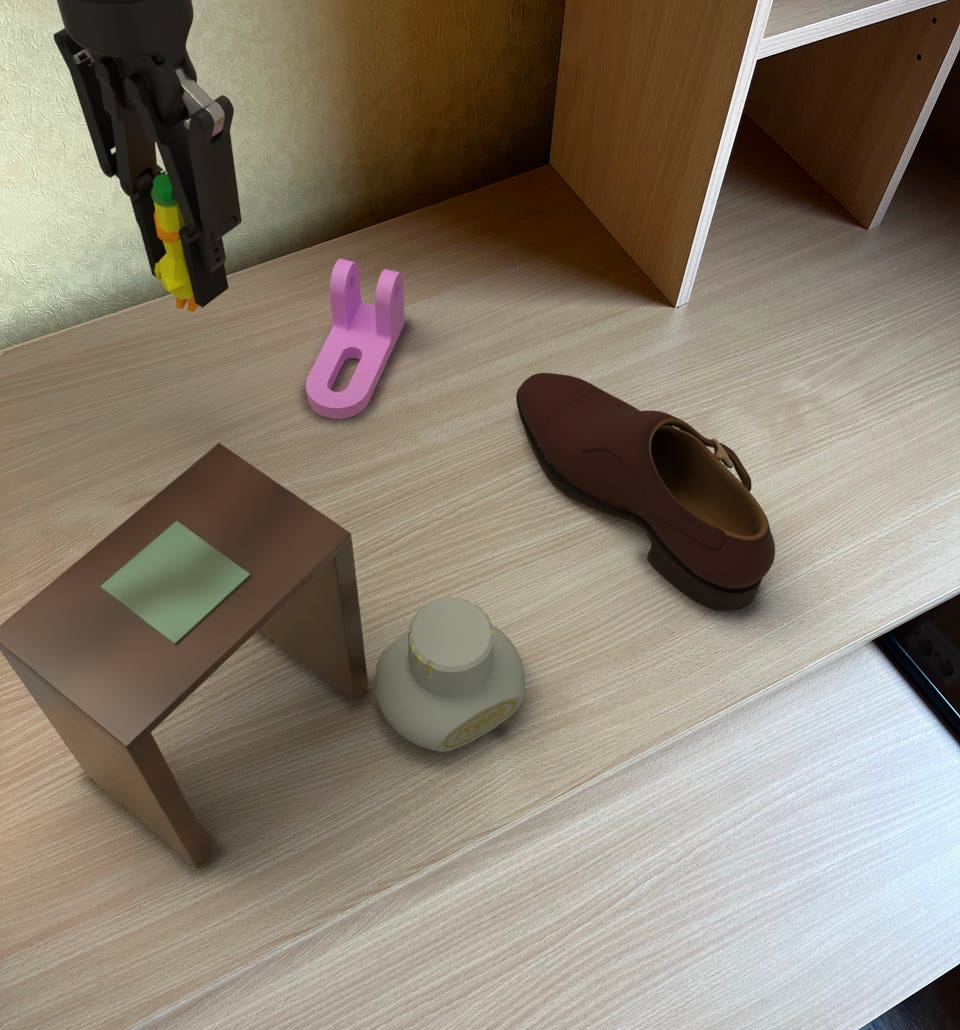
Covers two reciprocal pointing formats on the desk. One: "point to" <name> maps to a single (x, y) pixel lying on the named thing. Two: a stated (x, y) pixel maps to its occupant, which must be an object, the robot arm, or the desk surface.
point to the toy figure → (171, 244)
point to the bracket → (356, 340)
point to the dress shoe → (653, 485)
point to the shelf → (183, 624)
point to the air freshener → (449, 676)
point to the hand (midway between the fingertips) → (190, 280)
